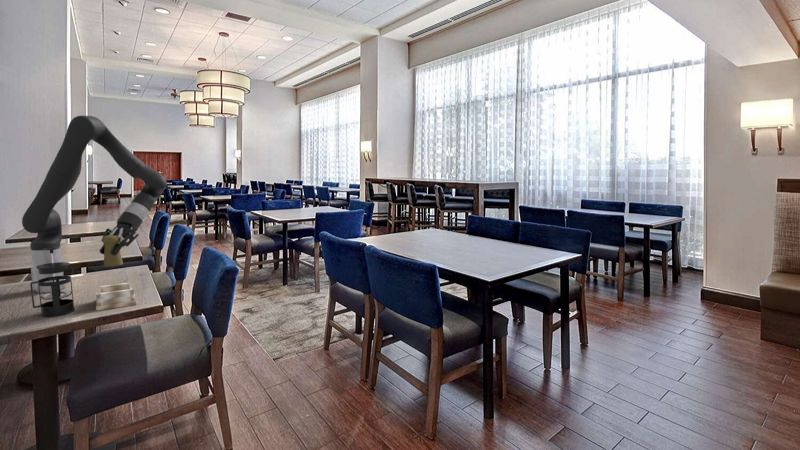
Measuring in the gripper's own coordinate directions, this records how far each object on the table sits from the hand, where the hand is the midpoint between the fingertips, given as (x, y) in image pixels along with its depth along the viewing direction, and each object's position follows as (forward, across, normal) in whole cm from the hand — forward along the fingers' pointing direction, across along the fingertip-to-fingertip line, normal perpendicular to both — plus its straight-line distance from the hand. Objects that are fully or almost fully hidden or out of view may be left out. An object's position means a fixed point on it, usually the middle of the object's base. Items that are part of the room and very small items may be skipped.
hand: (107, 253), depth 154 cm
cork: (+2, 0, +5) cm, 5 cm away
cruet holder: (+12, 0, +15) cm, 19 cm away
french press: (+23, -10, +4) cm, 25 cm away
